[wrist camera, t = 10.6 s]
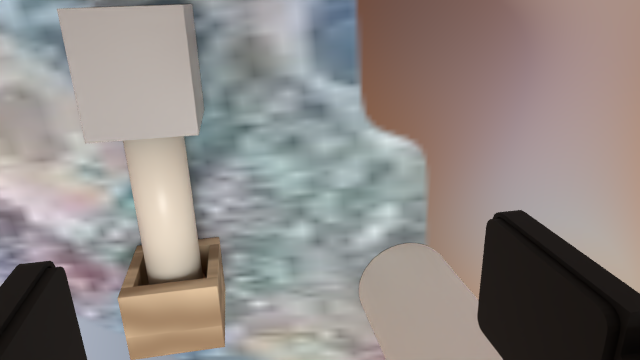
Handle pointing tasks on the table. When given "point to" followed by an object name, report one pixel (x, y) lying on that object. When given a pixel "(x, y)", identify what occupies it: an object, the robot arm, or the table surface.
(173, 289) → the socket
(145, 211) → the tube
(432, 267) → the cylinder container
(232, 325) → the table surface
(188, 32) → the grey block
